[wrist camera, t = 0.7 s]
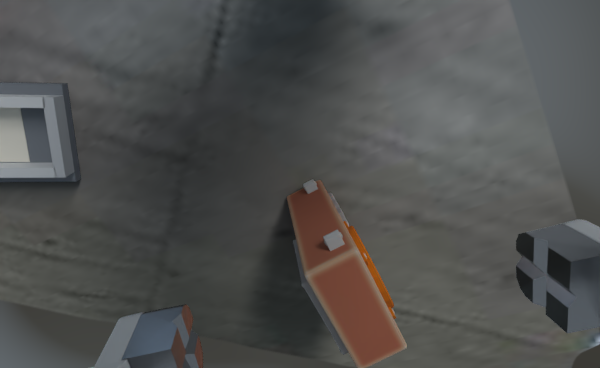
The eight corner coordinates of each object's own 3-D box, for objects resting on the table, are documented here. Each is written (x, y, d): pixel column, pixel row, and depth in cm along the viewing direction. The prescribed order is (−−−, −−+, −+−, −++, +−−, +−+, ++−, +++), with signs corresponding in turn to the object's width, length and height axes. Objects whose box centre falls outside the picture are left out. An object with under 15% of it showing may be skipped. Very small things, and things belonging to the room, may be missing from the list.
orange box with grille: (320, 168, 55) (363, 253, 60) (275, 191, 55) (322, 274, 60) (359, 233, 35) (419, 354, 39) (287, 269, 35) (356, 385, 40)
